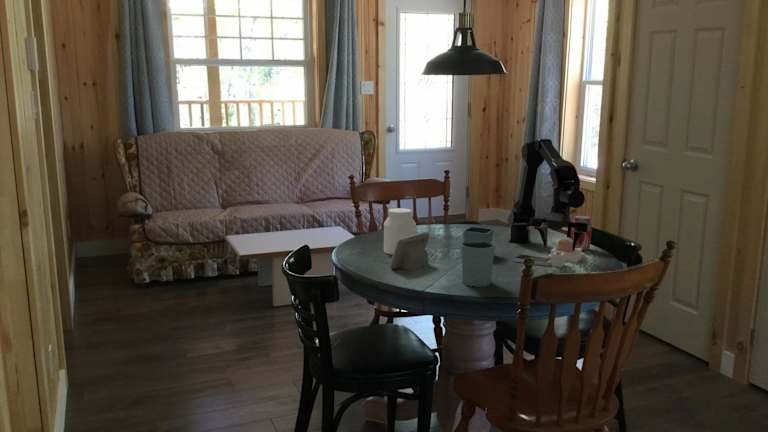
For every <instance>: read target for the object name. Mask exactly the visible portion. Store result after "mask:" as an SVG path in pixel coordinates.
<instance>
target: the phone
mask: <svg viewBox="0 0 768 432" xmlns="http://www.w3.org/2000/svg"><path fill="white" fill-rule="evenodd" d="M525 258H533V259H534V260H535V262H536V264H535V265H537V266H543V267H544V266H545V267H549V266H551V258H548V257H544V256H535V255H528V254H521V253H519V254H517V255H515V256H514V257H513V259H512V261H513V262H516V263H523V261H524V259H525ZM523 264H524V263H523Z"/></svg>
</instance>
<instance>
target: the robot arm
mask: <svg viewBox="0 0 768 432" xmlns="http://www.w3.org/2000/svg"><path fill="white" fill-rule="evenodd" d="M521 158H522V161H523V163H524V166H523V167H524V169H523V174H522V181H521V185H520V191H519V196H518V199H517V201H516V202H515V203H514V204H513V206H512V209H511V212H510V213H509V215H508V217H507V218H506V219H507V220H506V221H507V225H508V226H510V239H509V240H508V242H509V243H518V244H527V243H528V242H530V241H531V229H530V227H533V228H534V230H537V231H538V232H539V234H540V237H541V238H540V239H541V240H542V243H543V247H544V249H546V248H547V247H548V246H547V245H548V230H549V229H557V230H562V229H563V228H564V227H565V228H570V229H571V228H575V229H576V231H574V239H573V245H572V251H574V250H575V247H576V245H577V243H578V241H579V239H580V237H581V235H582V234H584V233H585V232H588V231H589V230H591V231H592V227H591V222H592V221H591V222H590V221H585V220H578V221H577V222H572V221H571V219H572V218H571V209H578V208H581V207H582V206H583V205H584V203H585V201H586V197H585V194H584V193H583V191H581V190H580V187H581V179H580V176H579V175H578V171H577V169H576V167H575V165H574V164H573V163H572V162H570V161H568V160H567V159H564V158H563V157H562V156H561V154H560V152H558V150H557V149H556V147H555V146H554V144H553V141H552V139H549V138H538V139H536V140H533V141H530V142H527V143H526V142H525V143H524V144H523V145H522V147H521ZM544 162H546V164H547V165H548V167H549V168H550V170H549V177H550V179H551V181H552V182H553V183H552V184H551V187H552V188H553V191H552V192H553V195H552V206H551V208H550V209H551V211H550V213H549V214H548V216H546V215H536V209H535V208H534V205H533V203H532V202H533V198H534V192H535V186H536V181H537V176H538V169H539V168H540V167H541V165H542V164H544Z"/></svg>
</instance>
